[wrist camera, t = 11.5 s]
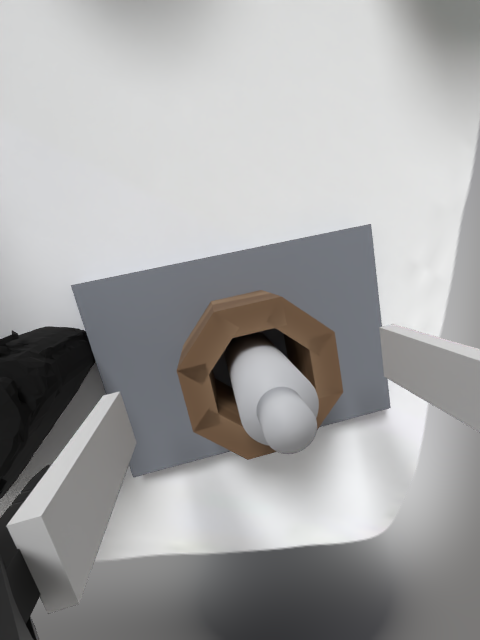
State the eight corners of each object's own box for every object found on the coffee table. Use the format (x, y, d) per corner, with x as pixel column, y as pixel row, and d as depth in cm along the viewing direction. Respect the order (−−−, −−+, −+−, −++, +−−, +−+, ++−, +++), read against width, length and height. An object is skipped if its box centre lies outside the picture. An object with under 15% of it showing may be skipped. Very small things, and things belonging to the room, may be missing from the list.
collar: (203, 422, 20) (203, 471, 15) (174, 309, 18) (163, 323, 13) (314, 393, 21) (349, 431, 16) (295, 282, 19) (327, 285, 14)
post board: (137, 465, 21) (72, 657, 11) (79, 284, 18) (-85, 302, 8) (380, 400, 23) (529, 510, 12) (361, 226, 20) (531, 178, 10)
